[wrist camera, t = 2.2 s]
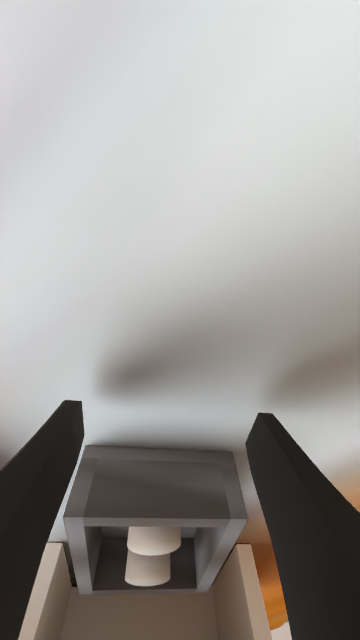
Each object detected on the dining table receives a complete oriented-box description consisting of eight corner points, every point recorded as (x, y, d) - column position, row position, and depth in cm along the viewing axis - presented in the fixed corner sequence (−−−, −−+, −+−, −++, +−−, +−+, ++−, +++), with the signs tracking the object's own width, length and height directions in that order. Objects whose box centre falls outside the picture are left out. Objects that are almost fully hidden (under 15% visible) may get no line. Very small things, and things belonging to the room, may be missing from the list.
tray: (200, 526, 19) (207, 592, 16) (94, 525, 18) (79, 595, 15) (230, 445, 14) (248, 519, 11) (87, 439, 13) (62, 517, 10)
